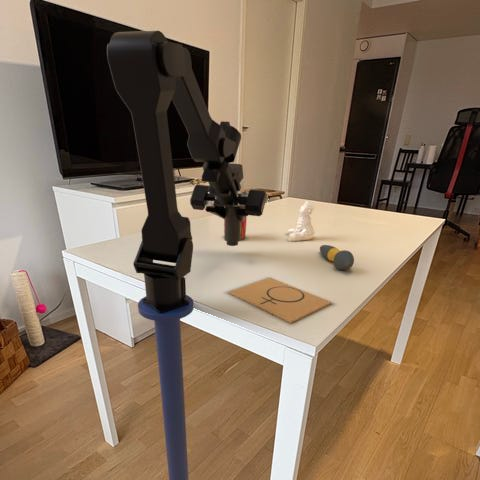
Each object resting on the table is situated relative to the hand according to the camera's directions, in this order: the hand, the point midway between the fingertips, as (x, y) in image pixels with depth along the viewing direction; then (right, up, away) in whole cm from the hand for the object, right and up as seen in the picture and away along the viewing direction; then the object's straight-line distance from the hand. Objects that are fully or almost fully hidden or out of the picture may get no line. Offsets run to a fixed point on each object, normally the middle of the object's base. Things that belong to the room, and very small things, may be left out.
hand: (234, 219), depth 93 cm
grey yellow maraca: (+27, -12, 0) cm, 29 cm away
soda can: (0, -1, +18) cm, 18 cm away
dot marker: (-1, -6, +2) cm, 7 cm away
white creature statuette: (+22, 0, +21) cm, 30 cm away
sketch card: (+10, -23, -22) cm, 33 cm away
